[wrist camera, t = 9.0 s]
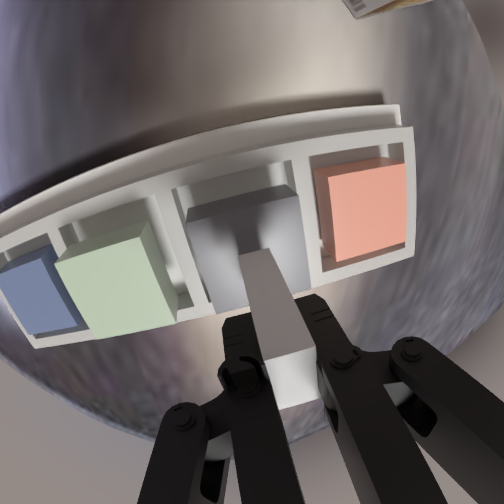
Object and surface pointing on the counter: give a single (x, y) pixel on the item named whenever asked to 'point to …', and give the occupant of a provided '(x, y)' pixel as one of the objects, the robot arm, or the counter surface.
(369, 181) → the key coral
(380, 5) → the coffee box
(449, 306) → the counter surface
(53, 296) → the key slate blue
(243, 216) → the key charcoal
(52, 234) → the keypad board
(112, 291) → the key sage
